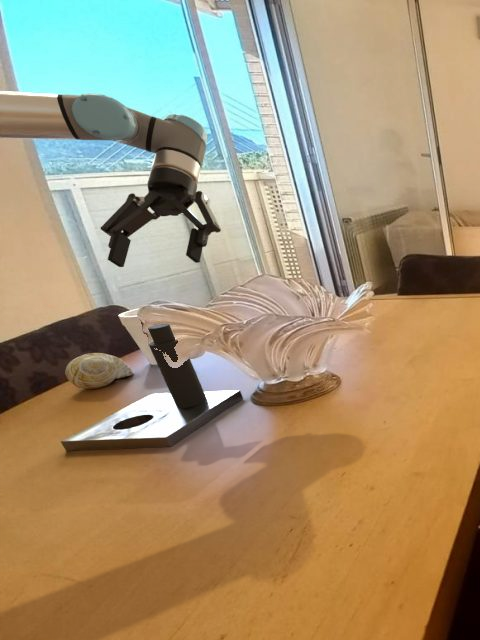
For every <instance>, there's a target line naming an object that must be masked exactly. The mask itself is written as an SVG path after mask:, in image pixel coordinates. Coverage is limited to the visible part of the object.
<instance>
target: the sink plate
mask: <svg viewBox="0 0 480 640" xmlns="http://www.w3.org/2000/svg"><path fill="white" fill-rule="evenodd" d="M204 393H205V396H206V398H207V399H206V401H204V402H203V403H201V404H199V405H196V406H192V407H188V408H178V407H177V406H176V404H175V402H174V400H173V398H172V395H171V393H170V392H159V393H151V394H148V395H147V396H145V397H143V398H141V399H139V400H137V401H135V402H133V403H131V404H130V405H127V406H126V407H123V408H122V409H120V410H118V411H116V412H115V413H112V414H110V415H108V416H107V417H105V418H103V419H101V420H99V421H96V422H95V423H93V424H91V425H89V426H87V427H85V428H83V429H82V430H80V431H78V432H76V433H74V434H72V435H70V436H68V437H66V438H64V439H63V440H60V443H61V445H62V447H63V448H64V450H65V451H66V452H73V451H74V452H76V451H77V452H79V451H100V450H101V451H102V450H125V449H126V450H127V449H149V448H171V447H173V446H174V445H176V444H177V443H179V442H180V441H182V440H183V439H185V438H186V437H187V436H189V435H190V434H192V433H194V432H195V431H197V430H198V429H200V428H201V427H203V426H204V425H206V424H208V423H209V422H210V421H212V420H213V419H215V418H216V417H218V416H220V415H221V414H222V413H224V412H226V411H227V410H229V409H230V408H231V407H233V406H234V405H236V404H237V403H239V402H240V401H242V400H243V399H244V396H243V393H242V392H241V390H239V389H235V390H212V391H211V390H210V391H209V390H208V391H204Z"/></svg>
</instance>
